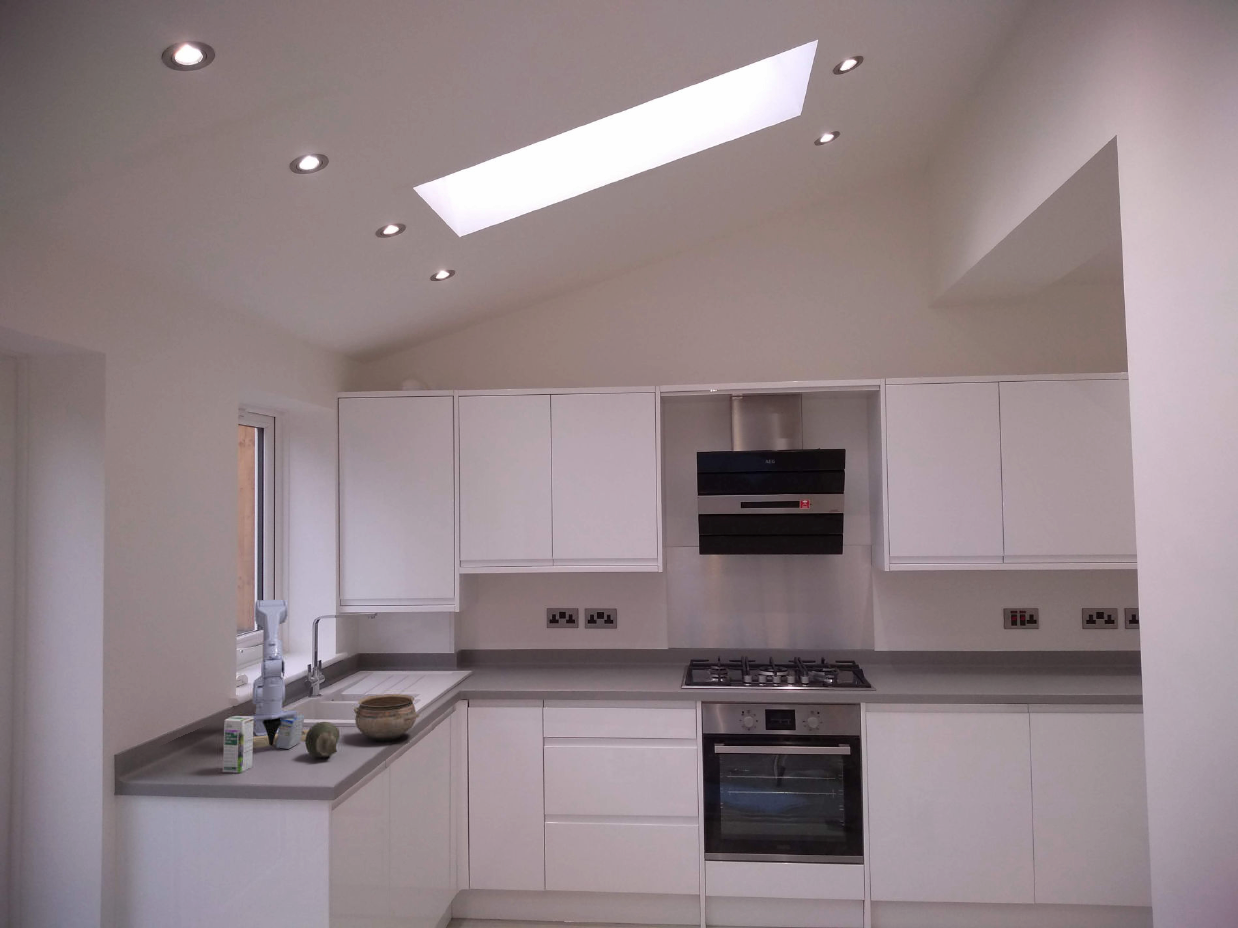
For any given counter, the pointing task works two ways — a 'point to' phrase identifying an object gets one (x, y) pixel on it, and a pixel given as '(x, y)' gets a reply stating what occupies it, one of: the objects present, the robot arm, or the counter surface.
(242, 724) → the syrup box
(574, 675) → the counter surface
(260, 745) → the pine board
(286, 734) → the medicine box
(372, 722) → the cooking pot
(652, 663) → the counter surface
